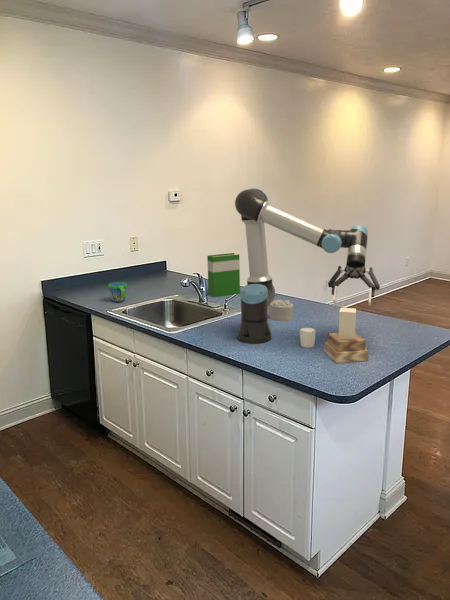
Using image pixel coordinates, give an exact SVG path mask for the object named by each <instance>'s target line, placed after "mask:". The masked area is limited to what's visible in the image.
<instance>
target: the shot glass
mask: <svg viewBox="0 0 450 600" xmlns="http://www.w3.org/2000/svg"><path fill="white" fill-rule="evenodd" d="M316 333H317V329H316V328H313V327H301V328H300V329H299V340H300V347H302V348H314V347H315V341H316Z"/></svg>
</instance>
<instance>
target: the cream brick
mask: <svg viewBox="0 0 450 600" xmlns="http://www.w3.org/2000/svg"><path fill="white" fill-rule="evenodd" d="M338 313H339V314H338V333H339V336H338V339H349V340H354V338H355V333H356V326H357V325H356V324H357V323H356V321H357V320H356V319H357V308H353V307H340V308H339V312H338Z"/></svg>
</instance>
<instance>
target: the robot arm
mask: <svg viewBox="0 0 450 600" xmlns="http://www.w3.org/2000/svg"><path fill="white" fill-rule="evenodd" d="M234 206H235V210H236V212H237V213H238V214H239V215H240V218H241V222H242V223H243V224H244V225H245V226H244V227H245V235H246V247H247V257H248V270H249V277H248V278H247V280H246V285H244V286H242V288H241V289H240V308H241V309H240V317H241V318H240V319H241V321H240V324H239V328H238V330H237V340H238V341H240V342H242V343H248V344H262V343H267V342H269V341H271V340H272V330H271V328H270V325H269V321H268V319H269V305H270V303H271V302H272V301H274V299H275V296H276V288H275V286H274V285H273V277H272V276H271V275H270V274H269V267H268V266H269V265H268V263H269V262H268V255H267V254H268V253H267V252H268V251H267V240H266V227H265V226H266V225H265V224H267V225H269V226H272V227H274V228H275V229H278V230H281V231H283V232H285V233H287V234H290V235H292V236H294V237H297V238H299V239H301V240H303V241H305V242H307V243H310V244H312V245H313V246H317V247H318V248H321V249H322V250H324V252H326V253H328V254H334V253H337V251H340V249H341V248H342V249H343V248H345V249H347V253H346V257H347V258H346V264H345V267H342V266H341V265H338V267H337V270H336V271H335V272H334V274H333V276H331V278H330V279H329V280H328V283H327V284H328V285H327V286H328V288H331V295H332V296H333V298H332V300H333V304H336V303H337V293H338V287H339V286H340V285H341V284H343V283H344V282H345V281H346V280H348V279H360V280H361V281H363V282H364V284H365V285H366V286H367V287H368V288H369V291H368V292H369V295H368V306H372V298H375V294H376V293H375V291H379V290H380V287H381V285H380V283H379V281H378V279H377V278H376V276H375V274H374V271H373V270H374V269H373V267H372V266H371V267H369V268H366V260H367V259H366V258H367V247H368V246H367V245H368V238H369V234H368V233H369V232H368V229H367V227H366V226H364V225H361V224H356V225H352V226H351V227H350V229H346V230H343V229H342V230H341V229H331V228H329V229H325V228H323V227H321V226H318V225H316V224H315V223H313V222H310V221H308V220H305V219H303V218H301V217H298V216H297V215H294V214H291V213H290V212H287V211H285V210H282V209H280V208H278V207H276V206H274V205H271V204H270V203H269V199H268V196H267V193H266V192H264V191H263V190H261V189H260V188H254V187H253V188H248V189H244V190H242V191H240V192H239V193H238V194H237V195H236V197H235V200H234ZM343 272H344V273H343ZM342 273H343V274H342ZM366 273H367V274H368V275H369V278H370V279H371V280H370V279H369V278H368V277H367V276H366ZM341 274H342V275H341ZM340 275H341V276H340Z"/></svg>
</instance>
